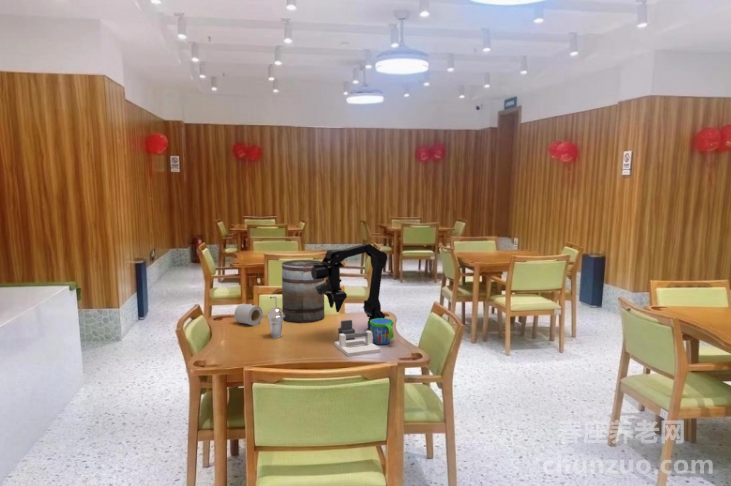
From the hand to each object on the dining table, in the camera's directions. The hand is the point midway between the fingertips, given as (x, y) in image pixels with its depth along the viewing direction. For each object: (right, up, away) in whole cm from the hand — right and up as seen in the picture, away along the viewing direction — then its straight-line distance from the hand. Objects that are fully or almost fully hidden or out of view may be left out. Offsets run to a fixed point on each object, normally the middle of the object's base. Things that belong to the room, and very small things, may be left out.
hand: (334, 309), depth 231 cm
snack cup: (+22, -14, -6) cm, 27 cm away
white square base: (+11, -15, -15) cm, 24 cm away
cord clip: (+6, -13, 0) cm, 15 cm away
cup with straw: (-28, -13, +2) cm, 31 cm away
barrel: (-19, -9, +37) cm, 42 cm away
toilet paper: (-46, -11, +24) cm, 53 cm away
